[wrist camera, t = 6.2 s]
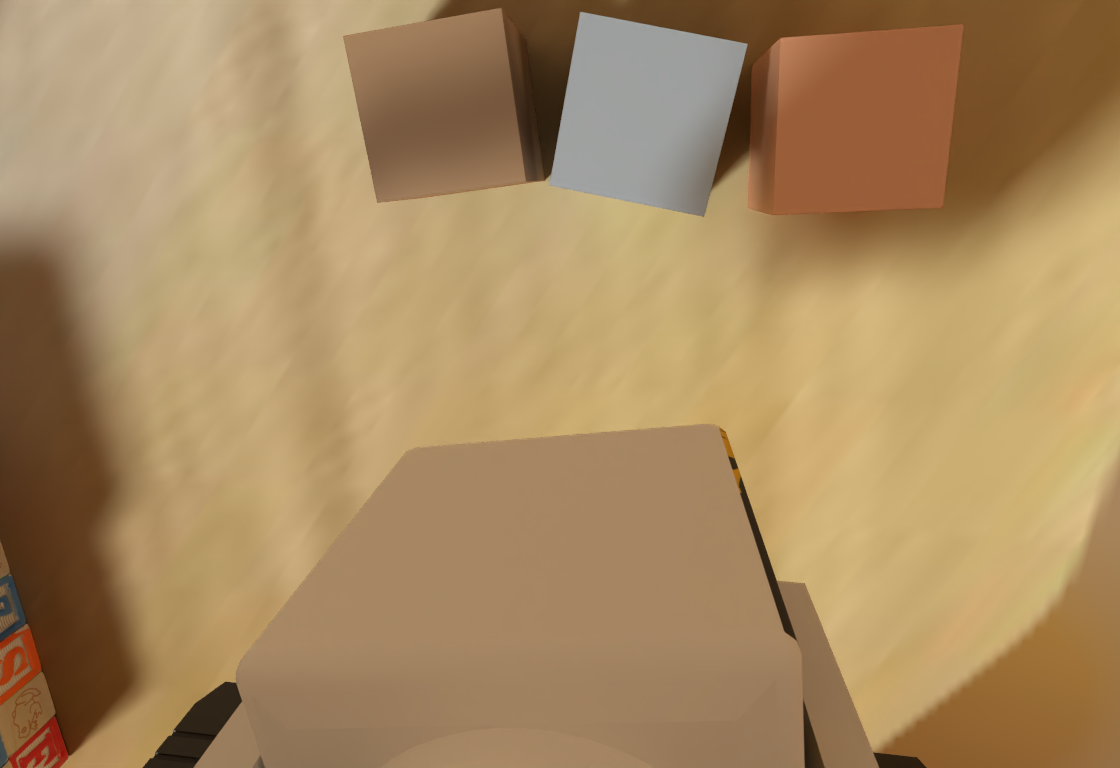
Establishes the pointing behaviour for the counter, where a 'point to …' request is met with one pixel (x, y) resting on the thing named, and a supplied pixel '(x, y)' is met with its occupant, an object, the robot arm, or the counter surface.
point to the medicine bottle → (538, 617)
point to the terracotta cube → (853, 121)
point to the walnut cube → (446, 106)
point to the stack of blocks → (23, 690)
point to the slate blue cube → (645, 113)
